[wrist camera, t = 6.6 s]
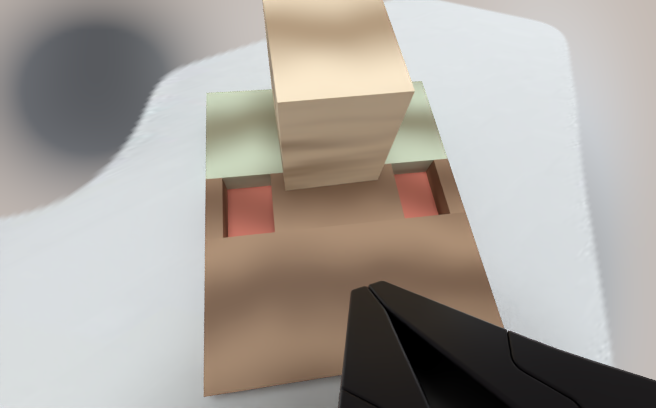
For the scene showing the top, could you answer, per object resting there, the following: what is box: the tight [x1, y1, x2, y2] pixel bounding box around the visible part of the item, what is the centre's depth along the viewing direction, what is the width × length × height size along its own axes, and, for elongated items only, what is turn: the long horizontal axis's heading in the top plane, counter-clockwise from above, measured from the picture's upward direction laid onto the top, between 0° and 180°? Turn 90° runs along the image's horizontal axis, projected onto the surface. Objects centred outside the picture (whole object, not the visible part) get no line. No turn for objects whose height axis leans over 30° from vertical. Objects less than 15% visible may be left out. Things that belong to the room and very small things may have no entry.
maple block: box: [262, 0, 415, 191], centre depth 20 cm, size 8×6×8 cm
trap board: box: [204, 81, 504, 397], centre depth 22 cm, size 19×16×2 cm
